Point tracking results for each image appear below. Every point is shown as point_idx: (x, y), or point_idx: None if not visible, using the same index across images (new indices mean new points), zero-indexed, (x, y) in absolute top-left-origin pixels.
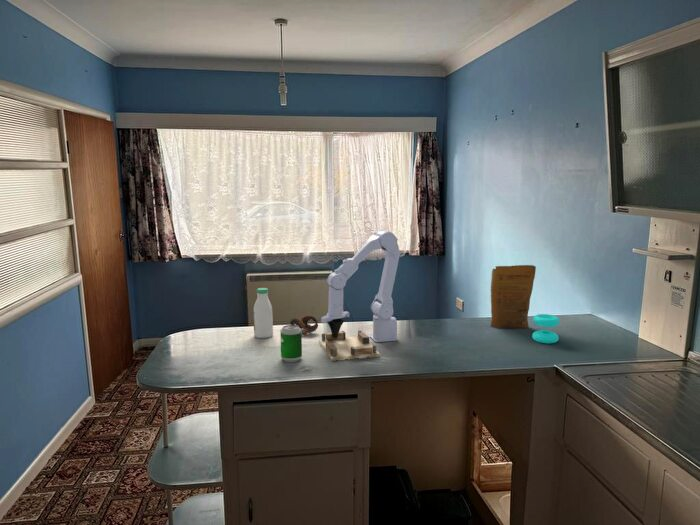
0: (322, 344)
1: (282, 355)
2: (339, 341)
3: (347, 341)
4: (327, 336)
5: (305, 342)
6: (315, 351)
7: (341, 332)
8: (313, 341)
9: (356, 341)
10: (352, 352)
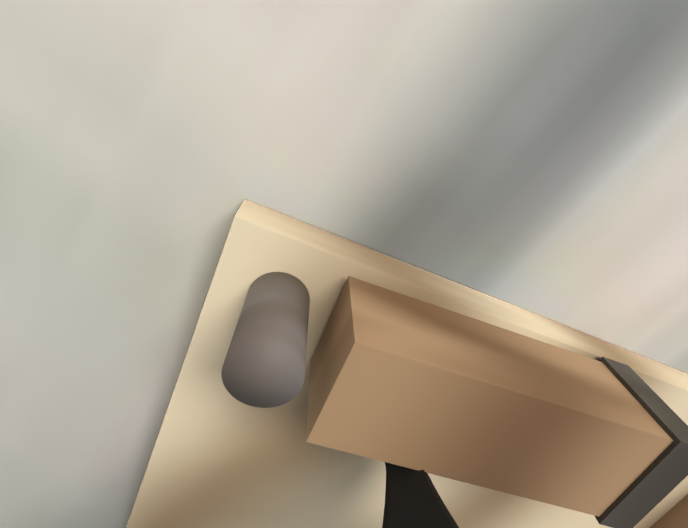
0: (158, 435)
1: None
2: None
3: (507, 501)
4: (313, 411)
5: (7, 34)
6: (29, 454)
7: (603, 483)
8: (182, 87)
9: None
10: None
